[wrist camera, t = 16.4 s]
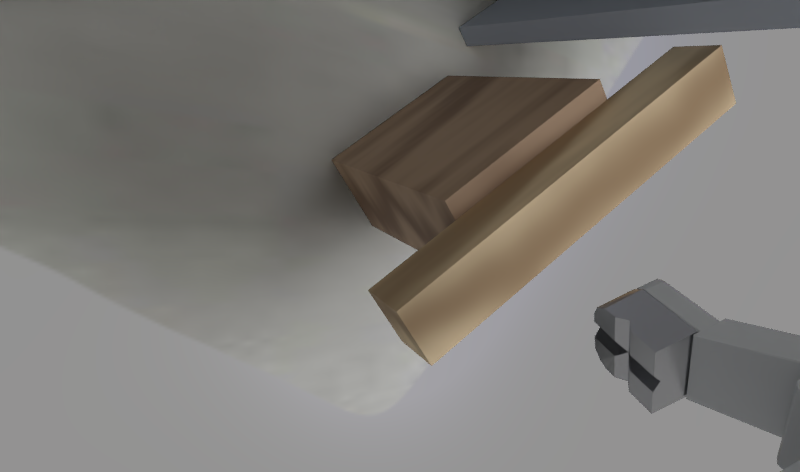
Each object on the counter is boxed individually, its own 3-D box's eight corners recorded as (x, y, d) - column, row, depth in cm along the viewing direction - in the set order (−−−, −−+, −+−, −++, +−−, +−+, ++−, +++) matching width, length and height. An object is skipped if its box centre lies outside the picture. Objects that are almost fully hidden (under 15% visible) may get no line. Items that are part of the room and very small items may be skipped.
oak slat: (368, 290, 29) (396, 311, 27) (673, 46, 35) (721, 45, 32) (401, 340, 31) (431, 366, 28) (688, 100, 36) (736, 103, 34)
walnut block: (331, 159, 43) (444, 200, 30) (447, 75, 46) (599, 79, 33) (372, 225, 46) (492, 290, 33) (480, 142, 49) (632, 171, 35)
